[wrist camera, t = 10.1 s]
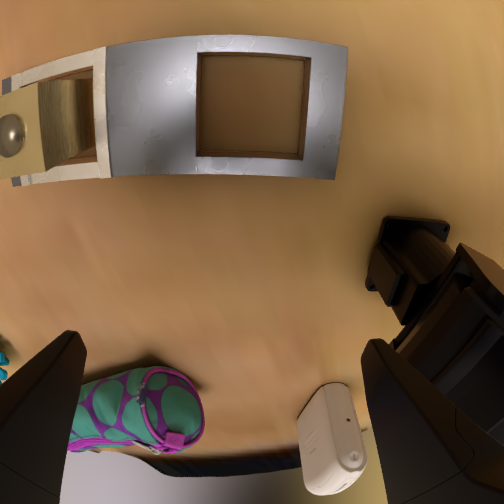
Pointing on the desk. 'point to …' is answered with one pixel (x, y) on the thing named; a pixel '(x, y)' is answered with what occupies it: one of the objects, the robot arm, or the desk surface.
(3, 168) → the wooden pull-out drawer
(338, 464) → the photo printer
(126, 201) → the desk surface
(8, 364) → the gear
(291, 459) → the desk surface
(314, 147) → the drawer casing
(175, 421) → the pencil case
